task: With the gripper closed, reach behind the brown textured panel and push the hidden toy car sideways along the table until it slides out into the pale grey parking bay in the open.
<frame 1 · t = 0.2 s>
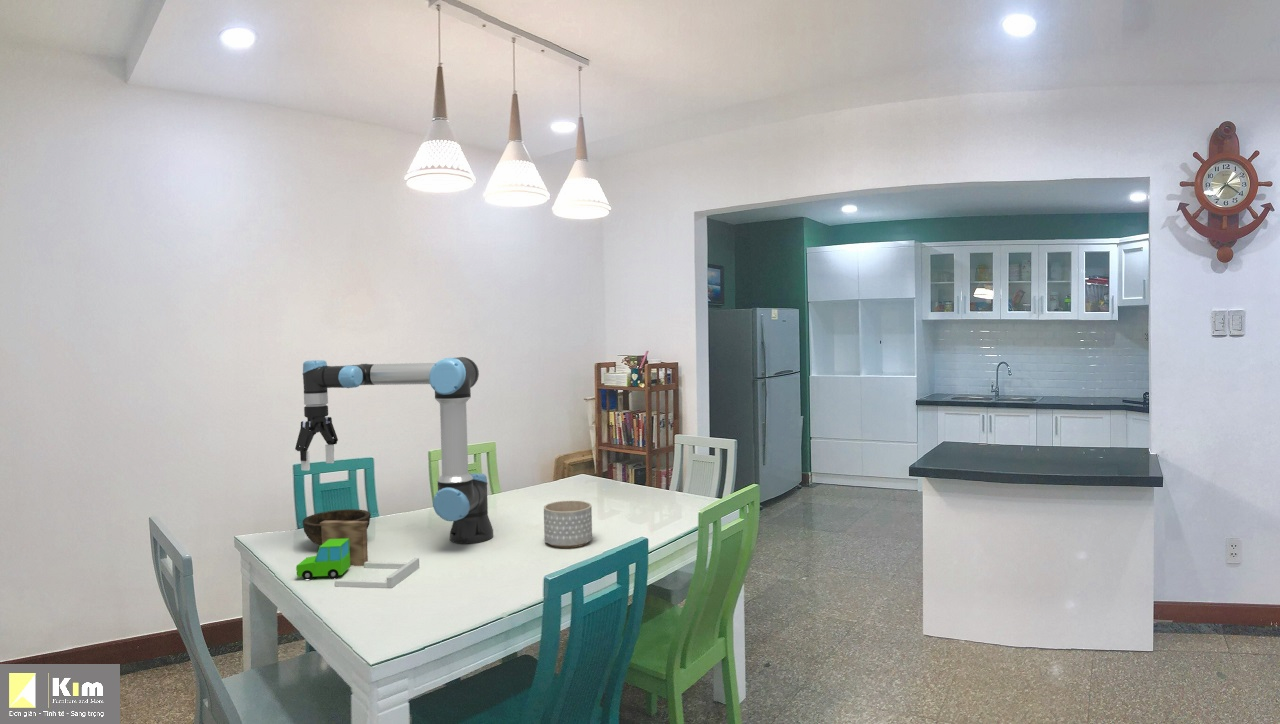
hand: (318, 466, 246), 28 cm above the table, fingers open, 13 cm apart
bowl: (338, 545, 248), on the table
bay: (376, 576, 214), on the table
toy car: (323, 576, 216), on the table
brown textured panel: (345, 564, 227), on the table
planter: (568, 542, 246), on the table
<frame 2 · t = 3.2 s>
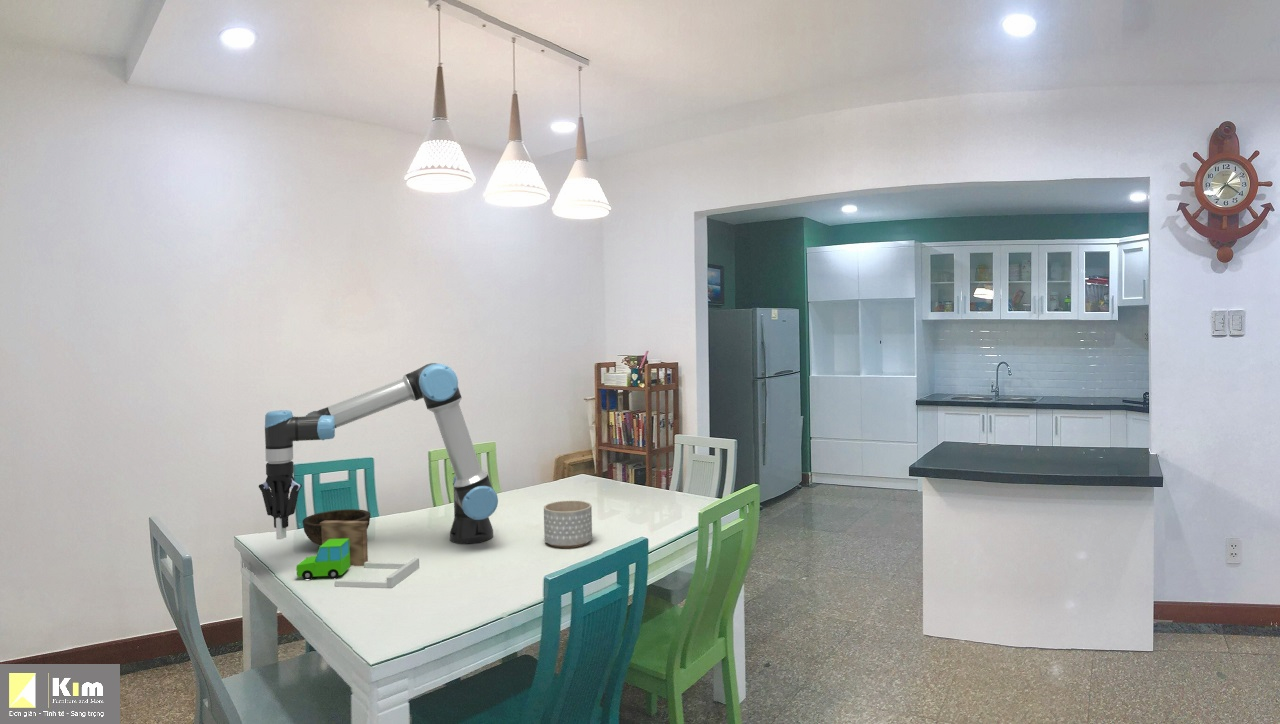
hand: (281, 538, 218), 11 cm above the table, fingers closed
nothing on the table moved.
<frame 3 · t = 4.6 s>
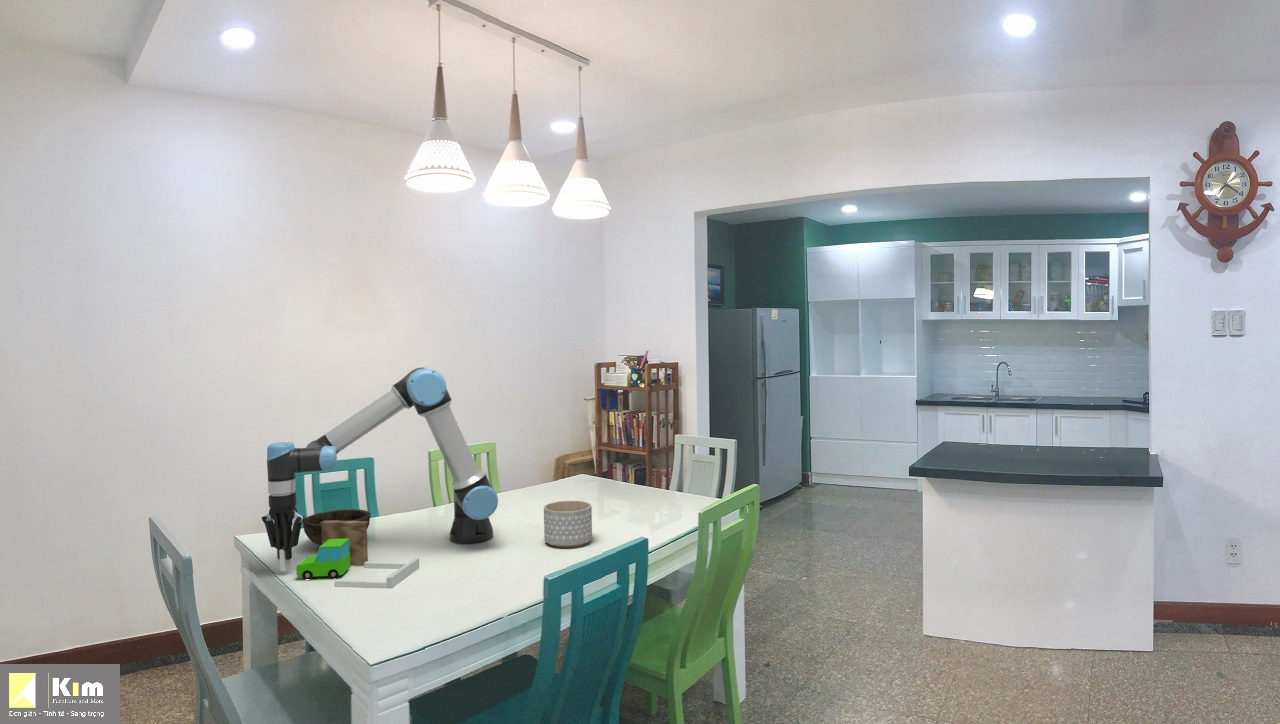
hand: (285, 569, 218), 1 cm above the table, fingers closed
nothing on the table moved.
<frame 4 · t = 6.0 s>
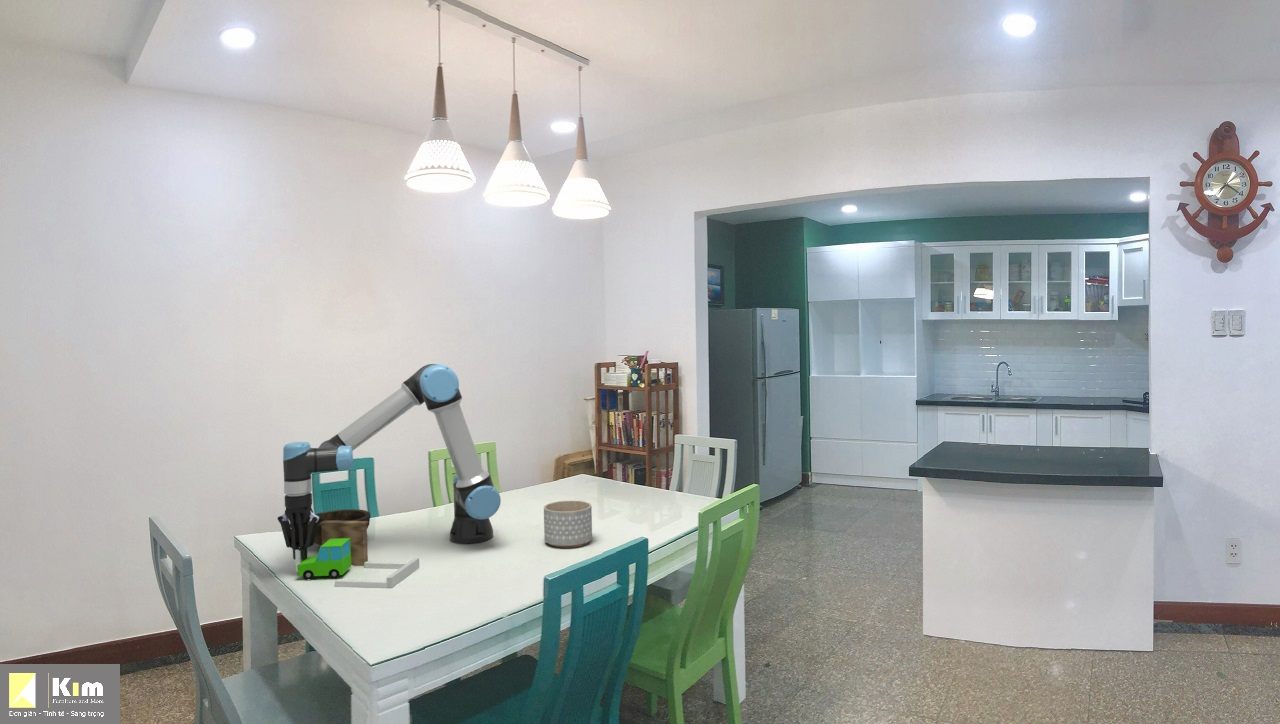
hand: (300, 569, 217), 1 cm above the table, fingers closed
toy car: (324, 575, 216), on the table, touching gripper
everything else where it was.
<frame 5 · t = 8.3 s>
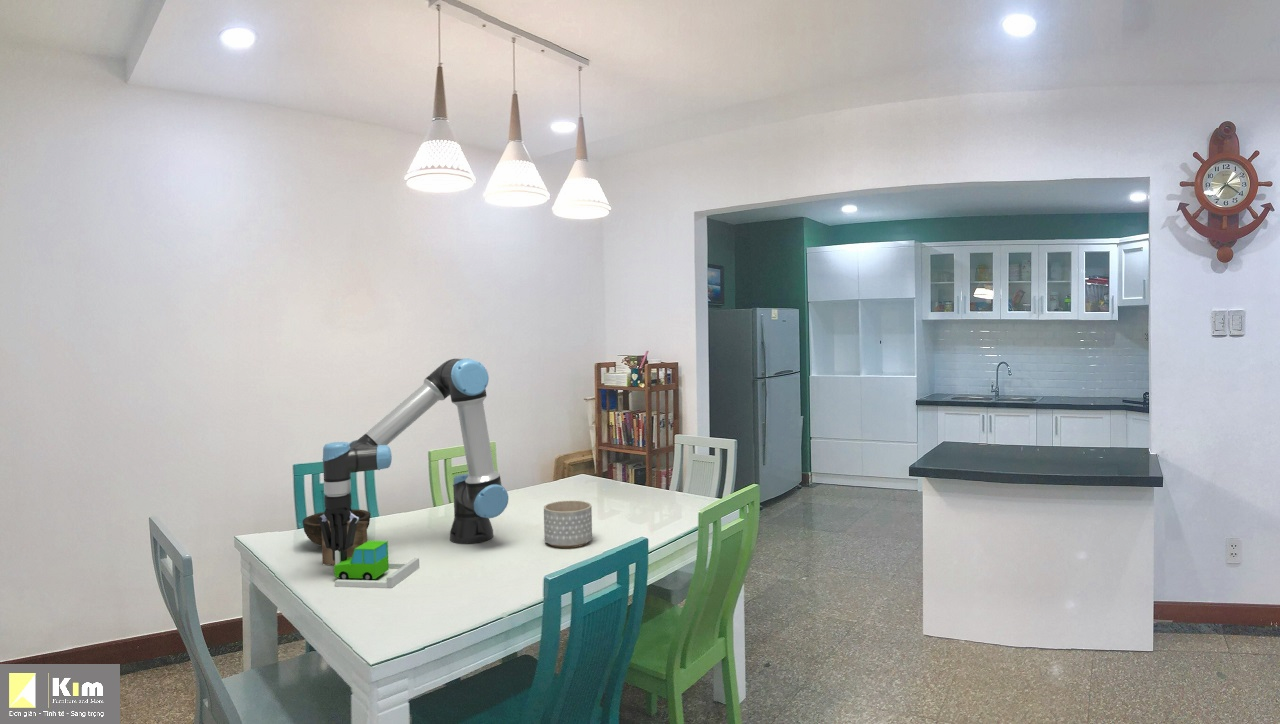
hand: (340, 571, 216), 1 cm above the table, fingers closed
toy car: (361, 578, 214), on the table, touching gripper
everything else where it was.
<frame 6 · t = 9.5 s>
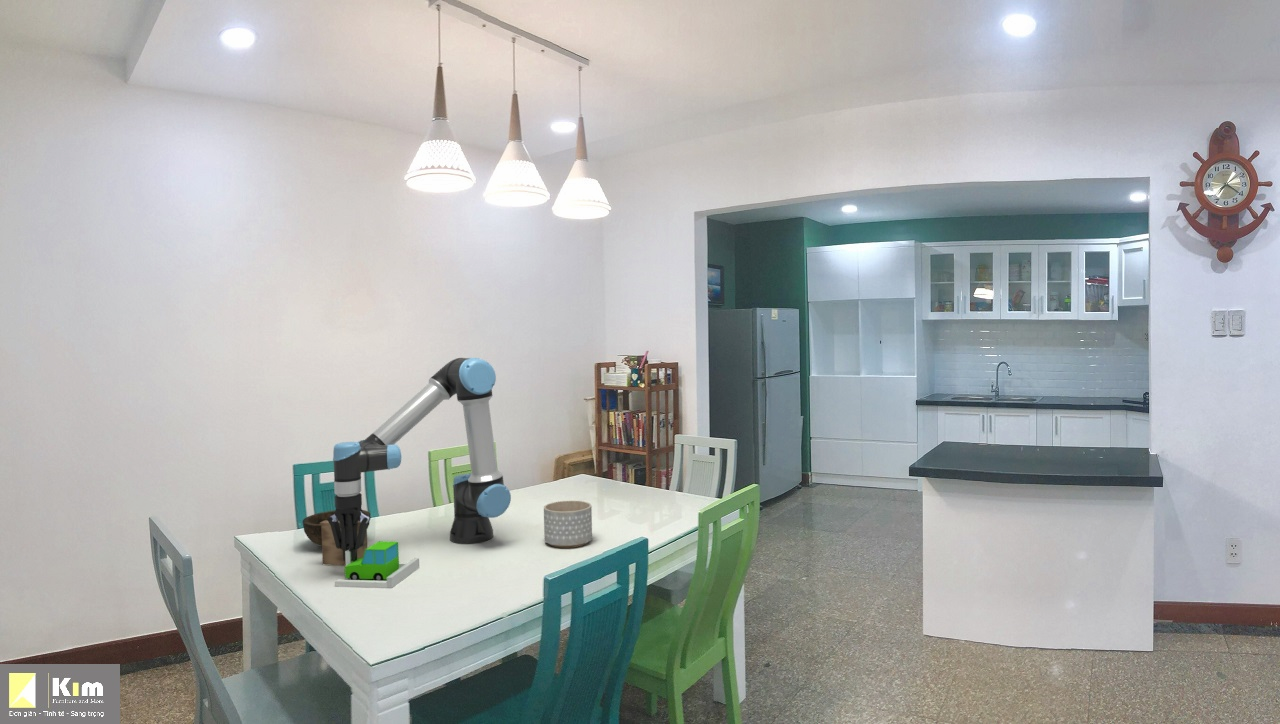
hand: (350, 571, 215), 1 cm above the table, fingers closed
toy car: (372, 578, 213), on the table, touching gripper
everything else where it was.
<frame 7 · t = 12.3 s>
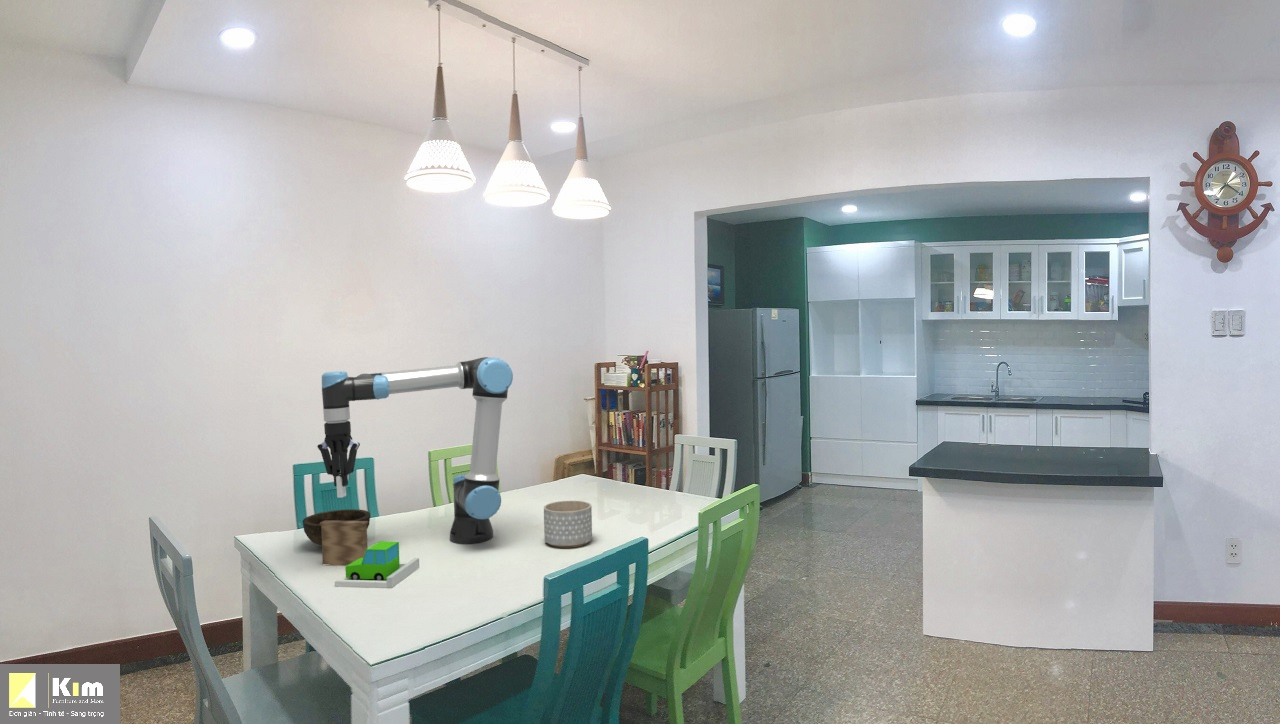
hand: (341, 496, 222), 23 cm above the table, fingers closed
toy car: (372, 578, 213), on the table
everything else where it was.
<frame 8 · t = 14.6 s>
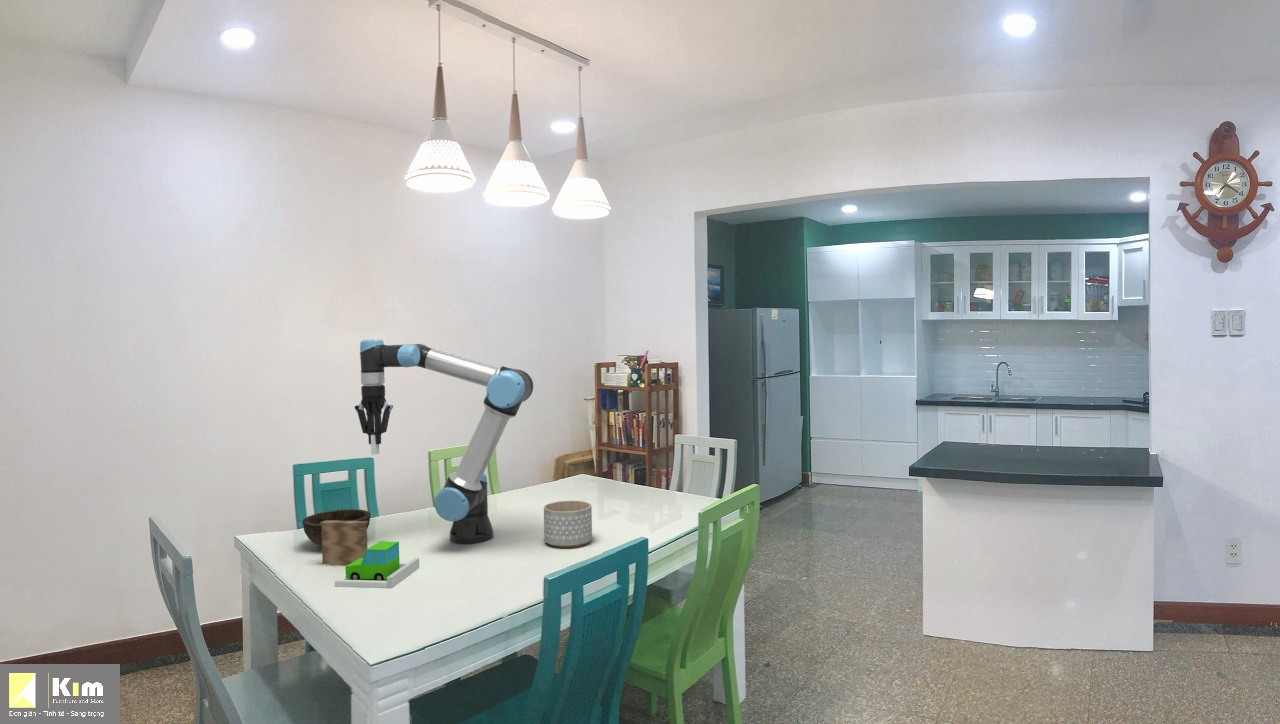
hand: (375, 453, 243), 32 cm above the table, fingers closed
nothing on the table moved.
at the end: toy car inside the target area on the bay (1.0 cm from its centre), point 0.0 cm above the bay's base; toy car moved 16.4 cm from its start; toy car tilted 0° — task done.
